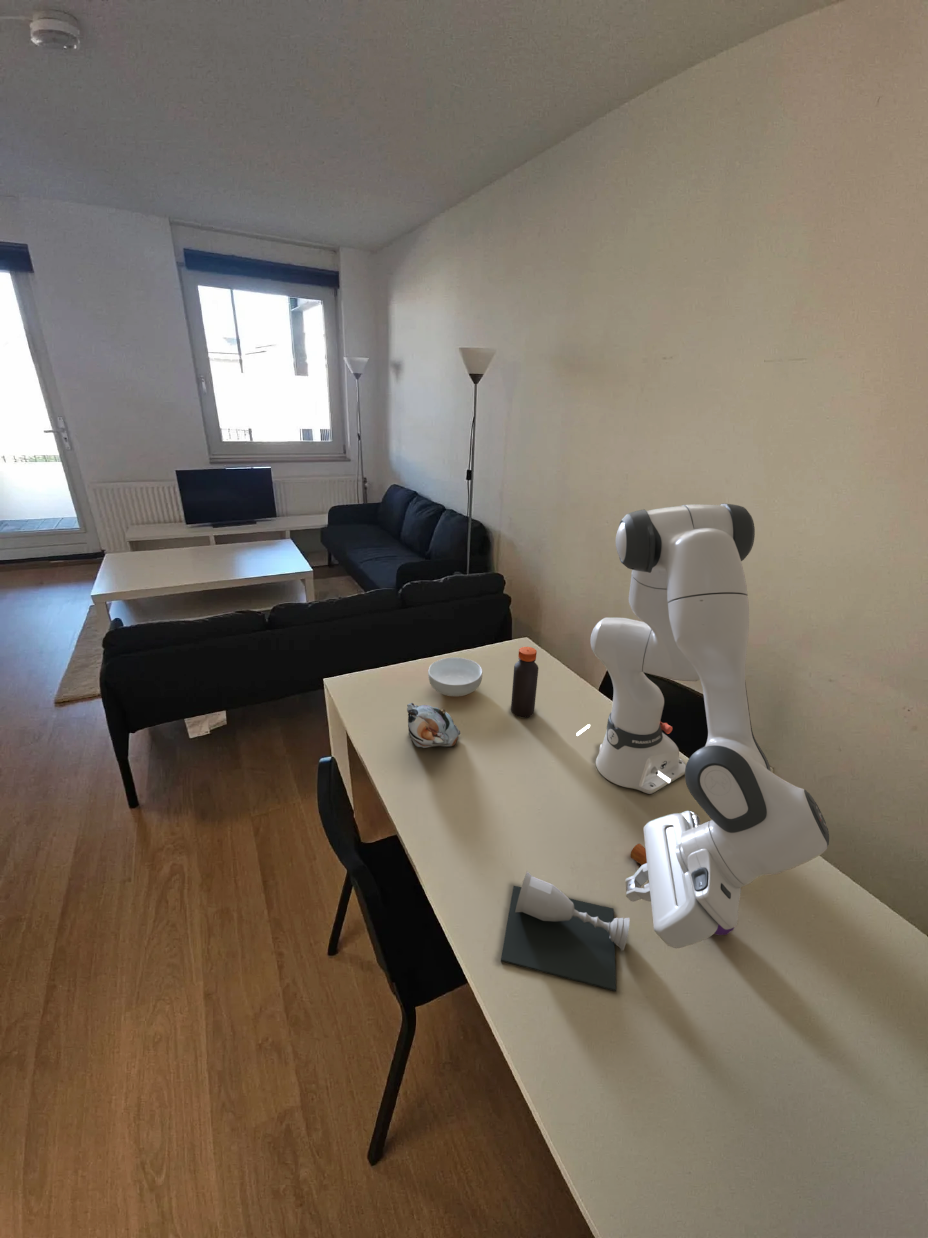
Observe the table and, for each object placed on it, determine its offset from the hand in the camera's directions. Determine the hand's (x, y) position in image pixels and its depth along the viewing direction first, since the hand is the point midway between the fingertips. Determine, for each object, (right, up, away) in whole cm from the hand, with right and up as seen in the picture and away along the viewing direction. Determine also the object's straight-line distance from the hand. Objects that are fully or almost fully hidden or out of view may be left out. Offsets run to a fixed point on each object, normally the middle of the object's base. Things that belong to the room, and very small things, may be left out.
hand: (628, 890), depth 79 cm
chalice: (+1, -10, +5) cm, 11 cm away
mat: (-9, -11, +7) cm, 16 cm away
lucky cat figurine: (-34, +10, +55) cm, 65 cm away
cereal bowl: (-28, +20, +79) cm, 86 cm away
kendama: (+14, -9, +15) cm, 22 cm away
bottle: (-9, +15, +69) cm, 71 cm away
